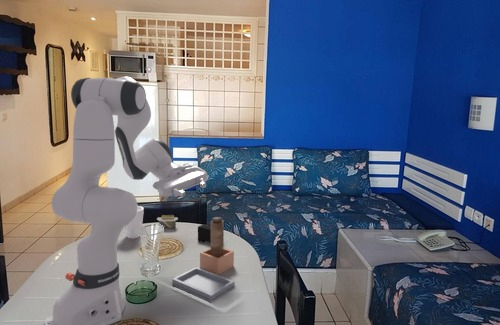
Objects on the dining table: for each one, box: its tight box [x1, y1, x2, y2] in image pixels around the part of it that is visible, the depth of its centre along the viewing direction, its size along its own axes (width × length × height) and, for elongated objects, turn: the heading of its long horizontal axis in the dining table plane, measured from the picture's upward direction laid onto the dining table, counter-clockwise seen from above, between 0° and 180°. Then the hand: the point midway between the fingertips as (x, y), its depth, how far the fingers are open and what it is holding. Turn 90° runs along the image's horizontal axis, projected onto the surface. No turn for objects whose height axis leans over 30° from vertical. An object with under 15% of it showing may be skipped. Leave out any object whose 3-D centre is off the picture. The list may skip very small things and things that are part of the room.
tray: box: [171, 266, 236, 303], centre depth 135 cm, size 12×18×2 cm, turn 54°
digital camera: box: [197, 223, 211, 244], centre depth 175 cm, size 10×5×7 cm, turn 57°
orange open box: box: [199, 247, 235, 276], centre depth 148 cm, size 9×9×7 cm
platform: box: [156, 214, 179, 229], centre depth 191 cm, size 12×18×7 cm, turn 94°
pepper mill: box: [210, 216, 225, 258], centre depth 147 cm, size 5×5×19 cm
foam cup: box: [124, 205, 145, 239], centre depth 179 cm, size 10×9×13 cm
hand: (194, 190), depth 145 cm, fingers open, 8 cm apart
